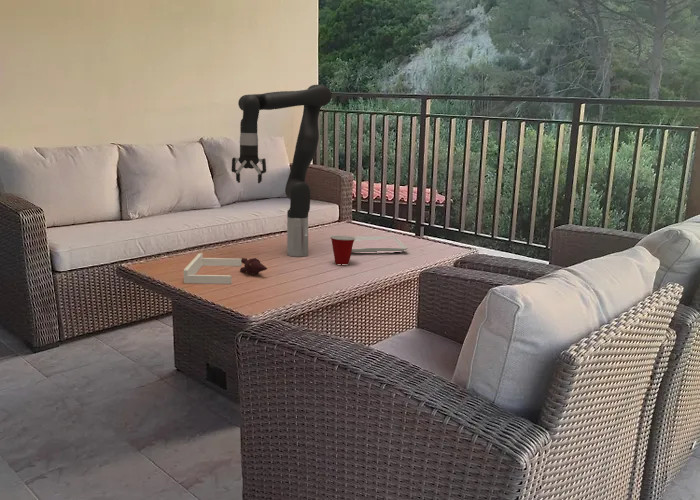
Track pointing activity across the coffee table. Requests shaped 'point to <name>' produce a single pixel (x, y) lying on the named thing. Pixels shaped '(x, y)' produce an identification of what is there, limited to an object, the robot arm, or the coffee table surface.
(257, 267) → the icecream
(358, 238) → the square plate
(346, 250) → the plastic cup
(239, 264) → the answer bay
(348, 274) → the coffee table surface
